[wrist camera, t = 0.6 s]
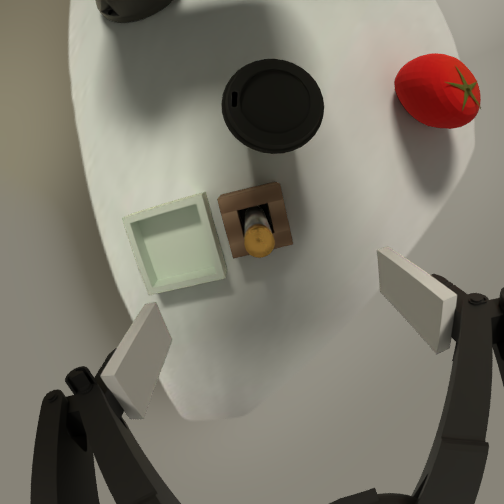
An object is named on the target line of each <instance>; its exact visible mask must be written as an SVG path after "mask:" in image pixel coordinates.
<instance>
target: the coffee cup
mask: <svg viewBox="0 0 504 504" xmlns="http://www.w3.org/2000/svg"><path fill="white" fill-rule="evenodd" d="M323 113H324V102H323V97H322V94H321V90H320V88H319V87H318V85H317V83H316V81H315V80H314V79H313V78H312V77H311V75H310V74H309V73H307V72H306V71H305V70H304V69H302V68H301V67H299V66H297V65H295V64H293V63H290V62H288V61H285V60H278V59H264V60H259V61H255V62H252V63H250V64H248V65H246V66H244V67H243V68H241V69H240V70H238V71H237V72H236V73H235V74H234V75H233V76H232V77H231V79H230V80H229V82H228V84H227V85H226V87H225V90H224V93H223V97H222V114H223V117H224V120H225V123H226V125H227V127H228V129H229V130H230V132H231V133H232V134H233V135H234V136H235V138H236V139H238V140H239V141H240V142H241V143H243V144H244V145H246V146H247V147H249V148H251V149H253V150H256V151H260V152H263V153H271V154H277V153H286V152H290V151H293V150H295V149H298V148H300V147H302V146H303V145H304V144H306V143H307V142H309V141H310V140H311V138H312V137H313V136H314V135H315V134H316V132H317V130H318V129H319V127H320V125H321V122H322V119H323Z"/></svg>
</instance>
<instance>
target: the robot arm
mask: <svg viewBox="0 0 504 504" xmlns="http://www.w3.org/2000/svg"><path fill="white" fill-rule="evenodd" d="M172 1H173V0H96V4H97V8H98V10H99V11H100V12H101V13H102V14H103V15H104V16H105V17H106V18H107V19H109V20H111V21H113V22H118V23H127V22H133V21H138V20H141V19H144V18H146V17H149V16H151V15H153V14H155V13H157V12H158V11H160V10H162V9H163V8H164V7H166V6H167V5H168V4H169V3H171V2H172ZM377 256H378V268H379V283H380V292H381V293H382V294H383V295H384V297H385V298H386V299H387V300H388V301H389V302H390V303H391V304H392V305H393V306H394V307H395V308H396V309H397V311H399V313H400V314H401V315H402V316H403V317H404V318H405V319H406V320H407V321H408V323H409V324H410V325H411V326H412V327H413V328H414V329H415V330H416V332H417V333H418V334H419V335H420V336H421V337H422V338H423V340H424V341H425V342H426V343H427V344H428V345H429V346H430V348H431V349H432V350H433V351H434V352H435V353H436V354H438V353H441V352H443V351H445V350H447V349H449V348H450V343H451V337H452V338H453V339H454V340H455V341H456V346H455V351H454V355H453V360H452V361H453V365H452V371H451V376H450V381H449V386H448V391H447V396H446V400H445V404H444V409H443V412H442V416H441V420H440V423H439V427H438V430H437V433H436V437H435V440H434V443H433V446H432V449H431V452H430V454H429V458H428V460H427V463H426V465H425V468H424V470H423V473H422V476H421V478H420V480H419V482H418V484H417V486H416V488H415V490H414V492H413V494H412V496H409V495H404V494H395V493H385V494H377V492H376V489H375V488H373V489H370V490H367V491H364V492H361V493H357V494H354V495H351V496H347V497H344V498H340V499H338V500H336V501H334V502H332V503H330V504H474V503H475V500H476V497H477V494H478V491H479V487H480V484H481V480H482V477H483V473H484V469H485V464H486V460H487V455H488V449H489V444H488V442H485V437H486V431H487V424H488V417H489V409H490V399H491V386H492V385H491V384H492V347H493V350H494V354H495V357H496V360H497V363H498V367H499V371H500V374H501V378H502V381H503V386H504V288H502V289H501V292H500V298H497V299H492V300H489V299H488V298H487V297H486V296H485V295H482V294H479V293H471V294H466V293H465V292H464V291H462V290H461V289H459V288H458V287H456V286H455V285H453V284H452V283H451V282H448V280H446V279H445V278H444V277H442V276H439V275H436V274H432V275H429V274H428V273H426V272H425V271H424V270H422V269H421V268H419V267H418V266H416V265H415V264H413V263H412V262H411V261H409V260H407V259H406V258H405V257H403V256H402V255H400V254H399V253H397V252H396V251H394V250H393V249H391V248H390V247H385V248H381V249H378V250H377ZM171 342H172V338H171V336H170V333H169V331H168V329H167V327H166V324H165V322H164V320H163V317H162V315H161V313H160V310H159V308H158V305H157V303H156V302H154V303H149V304H145V305H144V307H143V308H142V310H141V311H140V313H139V314H138V316H137V317H136V319H135V320H134V322H133V323H132V325H131V327H130V328H129V330H128V331H127V333H126V334H125V336H124V338H123V339H122V341H121V343H120V344H119V346H118V348H115V349H114V350H113V351H112V352H111V353H110V354H109V355H108V356H107V358H106V360H105V362H104V363H103V365H102V367H101V368H100V369H99V371H98V373H97V374H96V376H95V378H94V377H93V375H92V374H91V373H90V371H89V369H88V368H87V367H84V366H82V367H78V368H76V369H74V370H72V371H71V372H70V373H69V374H68V375H67V376H66V378H65V382H66V383H67V385H68V386H69V388H70V389H71V391H72V392H73V394H74V395H72V396H68V397H65V395H64V394H63V392H62V391H61V390H53V391H50V392H49V393H47V394H46V396H45V397H44V399H43V401H42V405H41V410H40V415H39V421H38V427H37V433H36V439H35V447H34V455H33V464H32V477H31V504H100V503H99V498H98V491H97V484H96V476H95V468H94V457H93V453H94V456H95V458H96V461H97V463H98V466H99V468H100V470H101V472H102V475H103V477H104V479H105V481H106V484H107V486H108V488H109V490H110V492H111V494H112V496H113V498H114V500H115V502H116V504H181V503H180V502H179V501H178V499H177V498H176V497H175V496H174V494H173V493H172V492H171V491H170V489H169V488H168V487H167V485H166V484H165V483H164V481H163V480H162V478H161V477H160V476H159V474H158V473H157V472H156V470H155V469H154V467H153V466H152V464H151V463H150V461H149V460H148V458H147V457H146V455H145V454H144V452H143V451H142V449H141V447H140V446H139V444H138V443H137V441H136V440H135V438H134V436H133V434H132V433H131V431H130V429H129V428H128V426H127V424H126V422H125V421H124V419H123V418H122V414H123V412H125V413H126V414H127V416H128V417H129V418H130V419H144V417H145V414H146V411H147V408H148V405H149V403H150V400H151V397H152V394H153V391H154V388H155V386H156V383H157V380H158V377H159V375H160V372H161V369H162V366H163V364H164V361H165V358H166V356H167V353H168V350H169V348H170V345H171Z"/></svg>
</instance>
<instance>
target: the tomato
mask: <svg viewBox="0 0 504 504" xmlns="http://www.w3.org/2000/svg"><path fill="white" fill-rule="evenodd" d="M394 83H395V91H396V94H397V96H398V98H399V100H400V102H401V104H402V105H403V107H404V108H405V109H406V110H407V112H408V113H409V114H410V115H411V116H412V117H414V118H415V119H416V120H418V121H419V122H421V123H423V124H425V125H427V126H431V127H437V128H448V129H451V128H457V127H462V126H464V125H466V124H467V123H469V122H471V121H472V120H473V119H474V118H475V116H476V115H477V113H478V110H479V107H480V90H479V86H478V83H477V81H476V79H475V77H474V76H473V74H472V73H471V72H470V70H469V69H468V68H467V67H466V66H465V65H464V64H463V63H462V62H461V61H460V60H458V59H456V58H454V57H451V56H448V55H445V54H427V55H423V56H419V57H417V58H415V59H413V60H411V61H409V62H408V63H407V64H405V65H404V66H403V67H402V68H401V69H400V71H399V72H398V74H397V76H396V78H395V81H394Z"/></svg>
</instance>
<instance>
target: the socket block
mask: <svg viewBox="0 0 504 504" xmlns="http://www.w3.org/2000/svg"><path fill="white" fill-rule="evenodd" d="M217 200H218V204H219V208H220V212H221V215H222V219H223V223H224V226H225V230H226V234H227V238H228V241H229V245H230V248H231V252H232V256H233V258H237V257H242V256H246V255H250V254H249V253H248V252H247V251H246V249H245V245H244V237H245V231H244V227H243V223H242V219H241V215H240V211H239V210H241V209H245V208H249V207H253V206H257V205H261V204H266V203H267V208H268V212H269V216H270V221H271V225H270V229H271V232H272V234H273V237H274V241H275V245H274V248H273V249H275V248H280V247H284V246H288V245H292V244H293V241H292V236H291V232H290V227H289V222H288V218H287V213H286V209H285V204H284V200H283V195H282V191H281V186H280V184H279V183H277V182H272V183H268V184H263V185H259V186H255V187H251V188H246V189H242V190H238V191H234V192H230V193H226V194H222V195H220V196H219V198H218V199H217Z"/></svg>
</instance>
